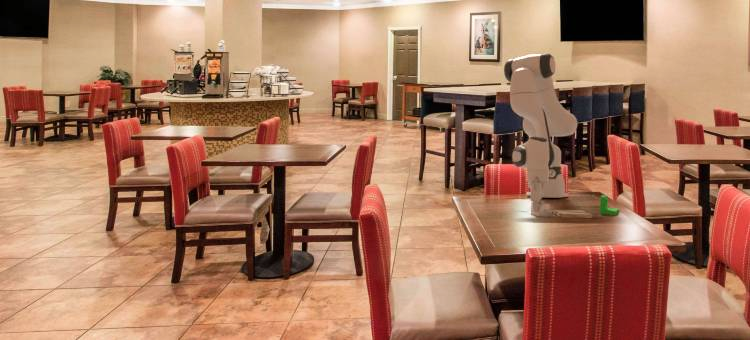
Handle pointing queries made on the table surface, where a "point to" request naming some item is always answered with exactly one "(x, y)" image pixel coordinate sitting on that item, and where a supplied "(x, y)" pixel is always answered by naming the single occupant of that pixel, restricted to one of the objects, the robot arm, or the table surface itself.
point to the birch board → (572, 214)
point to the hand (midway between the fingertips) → (536, 210)
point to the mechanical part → (604, 207)
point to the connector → (541, 210)
